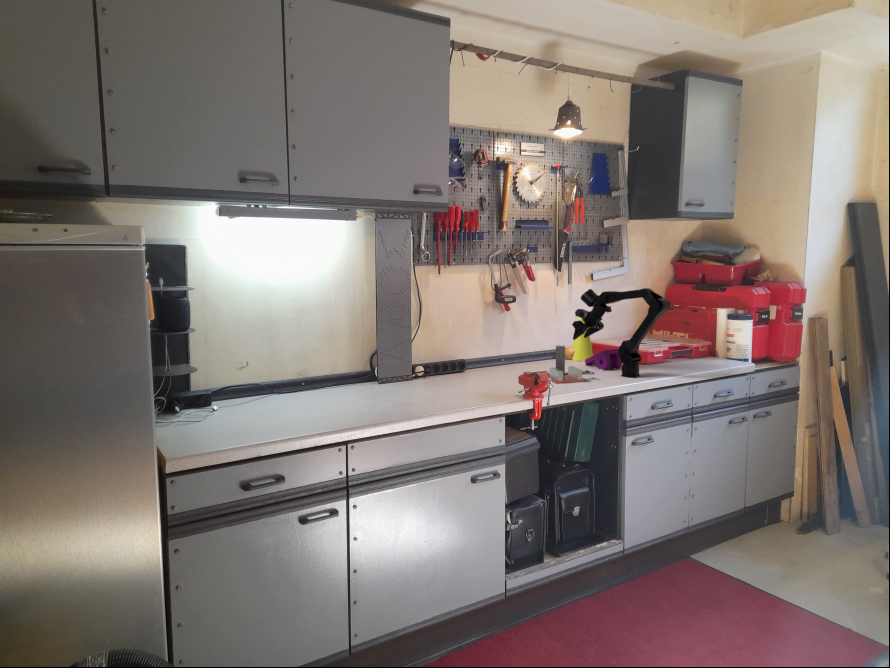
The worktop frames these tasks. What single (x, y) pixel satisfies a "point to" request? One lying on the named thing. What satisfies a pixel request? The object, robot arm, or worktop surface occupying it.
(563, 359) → the steel bar
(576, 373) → the bench vise
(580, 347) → the cone
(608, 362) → the mounting bracket
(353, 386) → the worktop surface
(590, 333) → the robot arm
